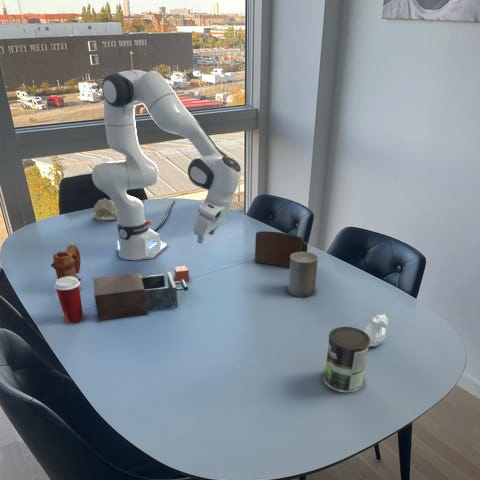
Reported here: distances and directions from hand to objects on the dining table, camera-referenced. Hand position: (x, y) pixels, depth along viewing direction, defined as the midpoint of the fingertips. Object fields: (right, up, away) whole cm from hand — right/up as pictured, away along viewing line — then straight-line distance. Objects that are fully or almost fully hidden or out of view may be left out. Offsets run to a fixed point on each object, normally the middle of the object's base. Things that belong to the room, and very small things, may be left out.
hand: (205, 238), depth 170 cm
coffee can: (+40, -47, -44) cm, 76 cm away
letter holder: (+30, -6, +25) cm, 39 cm away
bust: (+53, -37, -28) cm, 70 cm away
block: (-10, -14, +9) cm, 20 cm away
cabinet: (-28, -26, -10) cm, 40 cm away
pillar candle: (+35, -20, +1) cm, 40 cm away
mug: (-50, -18, +4) cm, 53 cm away
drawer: (-15, -23, -8) cm, 29 cm away
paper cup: (-42, -30, -16) cm, 54 cm away
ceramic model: (-57, +24, +74) cm, 96 cm away
